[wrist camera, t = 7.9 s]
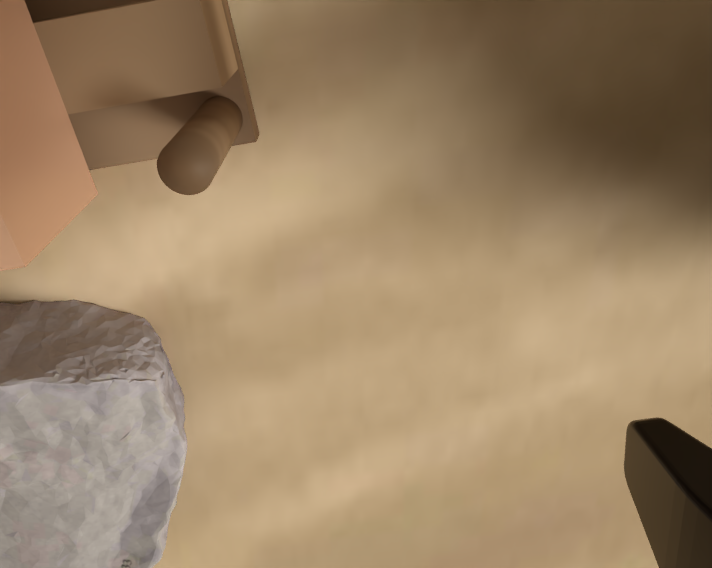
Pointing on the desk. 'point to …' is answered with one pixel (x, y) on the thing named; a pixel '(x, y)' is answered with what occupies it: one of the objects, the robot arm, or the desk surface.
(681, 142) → the desk surface
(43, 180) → the clay bar
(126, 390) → the stone block
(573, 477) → the desk surface
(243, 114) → the rack
